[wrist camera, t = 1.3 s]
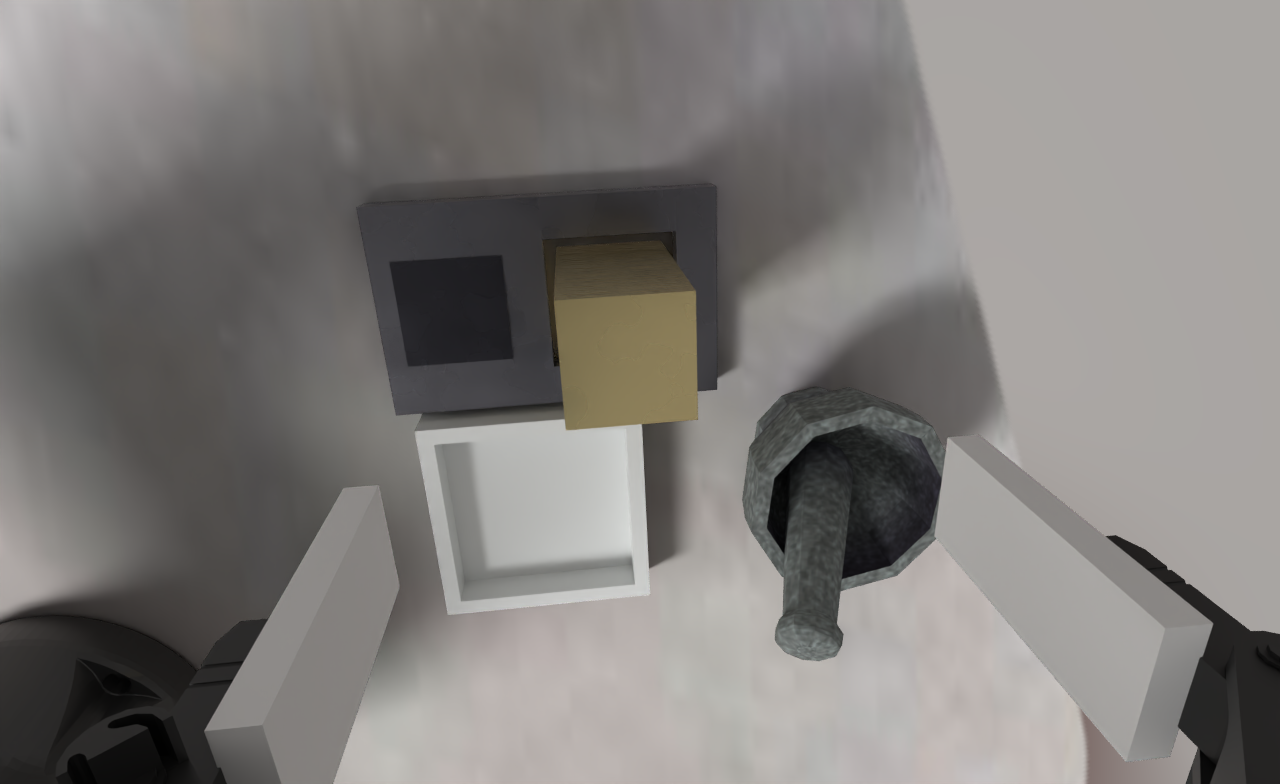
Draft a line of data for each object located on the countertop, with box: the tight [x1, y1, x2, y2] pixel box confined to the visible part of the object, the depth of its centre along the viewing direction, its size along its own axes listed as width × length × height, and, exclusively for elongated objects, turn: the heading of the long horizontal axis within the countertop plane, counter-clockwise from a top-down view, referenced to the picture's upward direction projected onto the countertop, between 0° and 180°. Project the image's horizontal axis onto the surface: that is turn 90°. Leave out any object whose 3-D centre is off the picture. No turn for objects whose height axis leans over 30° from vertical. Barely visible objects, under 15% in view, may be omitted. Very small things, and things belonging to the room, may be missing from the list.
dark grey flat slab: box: [356, 184, 717, 415], centre depth 34 cm, size 16×10×1 cm, turn 92°
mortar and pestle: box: [742, 387, 945, 661], centre depth 34 cm, size 11×9×12 cm
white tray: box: [415, 402, 650, 615], centre depth 38 cm, size 11×11×2 cm
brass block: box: [554, 240, 698, 430], centre depth 31 cm, size 5×5×10 cm
